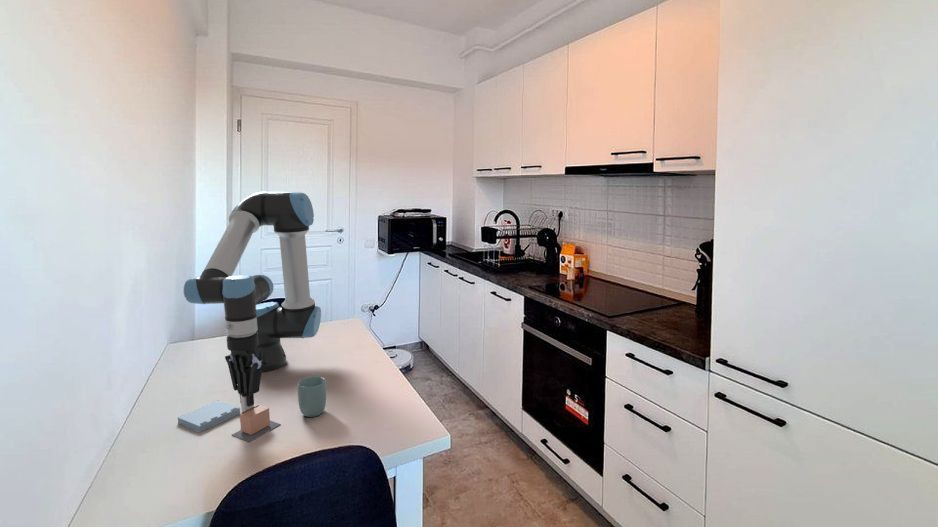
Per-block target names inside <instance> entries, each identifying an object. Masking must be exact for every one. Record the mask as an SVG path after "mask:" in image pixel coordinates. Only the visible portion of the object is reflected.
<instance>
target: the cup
mask: <svg viewBox="0 0 938 527" xmlns="http://www.w3.org/2000/svg"><path fill="white" fill-rule="evenodd" d="M326 382H327V381H326V378H325V377H323V376H318V375H317V376H316V375H315V376H308V377H304V378H301V379H300V380H298V382H297V388H296V389H297V399H298V400H297V402H298V406H299V407H298V408H299V410H300V413H301V414H302V415H303V416H304V417H307V418H309V417H310V418H313V417H318V416H319V415H321V414H322V413H323V412H324V410H326V409H325V408H326V406H327V383H326Z"/></svg>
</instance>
